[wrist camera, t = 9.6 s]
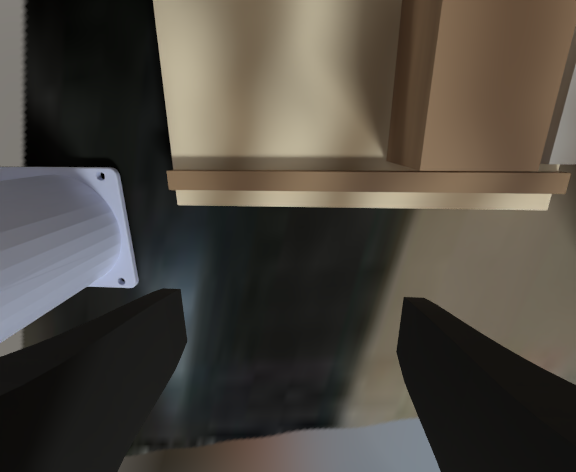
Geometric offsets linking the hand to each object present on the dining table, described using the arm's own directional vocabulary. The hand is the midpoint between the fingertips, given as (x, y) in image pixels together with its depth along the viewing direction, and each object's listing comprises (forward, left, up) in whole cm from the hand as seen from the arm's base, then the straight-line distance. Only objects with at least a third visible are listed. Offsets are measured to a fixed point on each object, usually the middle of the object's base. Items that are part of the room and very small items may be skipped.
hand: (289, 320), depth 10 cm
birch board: (+3, +9, -9) cm, 13 cm away
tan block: (+6, +9, -8) cm, 14 cm away
